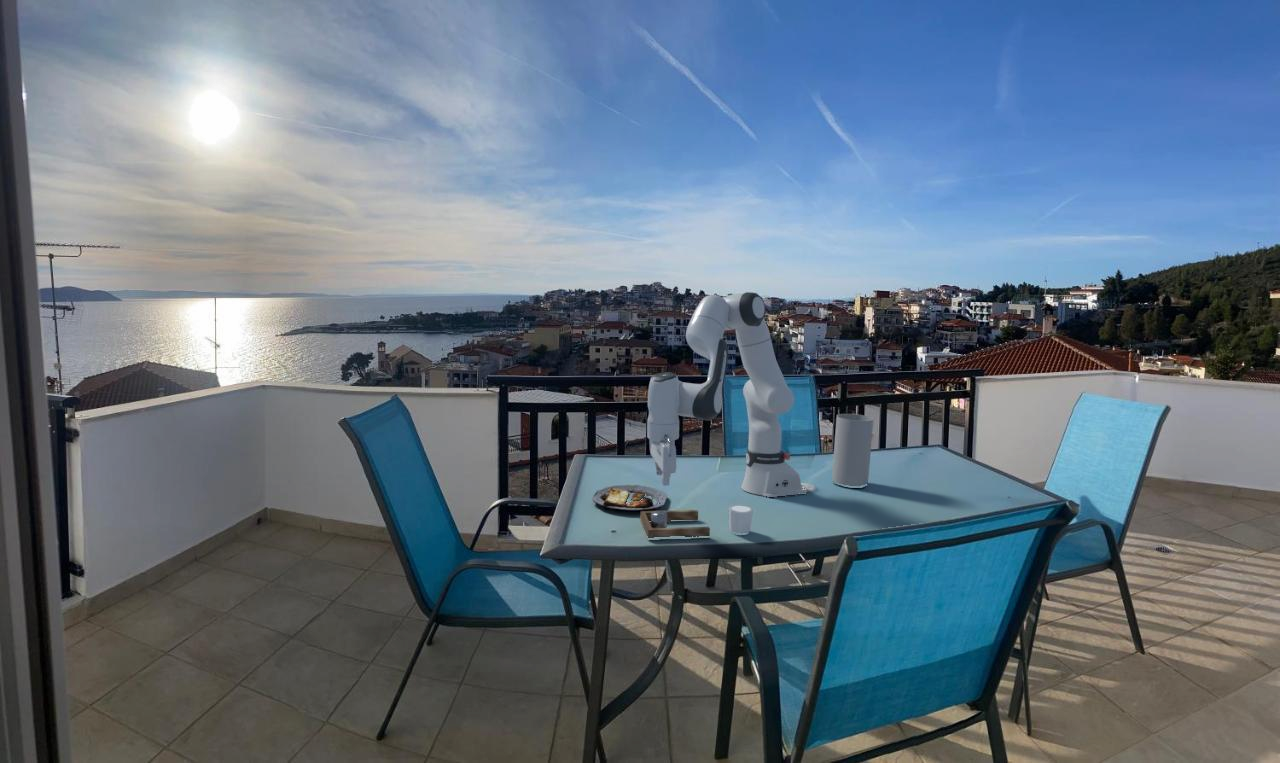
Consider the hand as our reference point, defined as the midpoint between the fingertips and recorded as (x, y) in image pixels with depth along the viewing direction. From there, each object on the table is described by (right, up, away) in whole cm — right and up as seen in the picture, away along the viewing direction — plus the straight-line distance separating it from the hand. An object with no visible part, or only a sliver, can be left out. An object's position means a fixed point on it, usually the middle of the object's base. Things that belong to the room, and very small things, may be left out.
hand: (662, 479), depth 168 cm
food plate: (-9, -12, +25) cm, 29 cm away
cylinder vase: (+71, -10, +51) cm, 88 cm away
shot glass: (+22, -16, +3) cm, 27 cm away
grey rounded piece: (-1, -15, +2) cm, 15 cm away
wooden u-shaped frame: (+4, -15, +3) cm, 16 cm away
